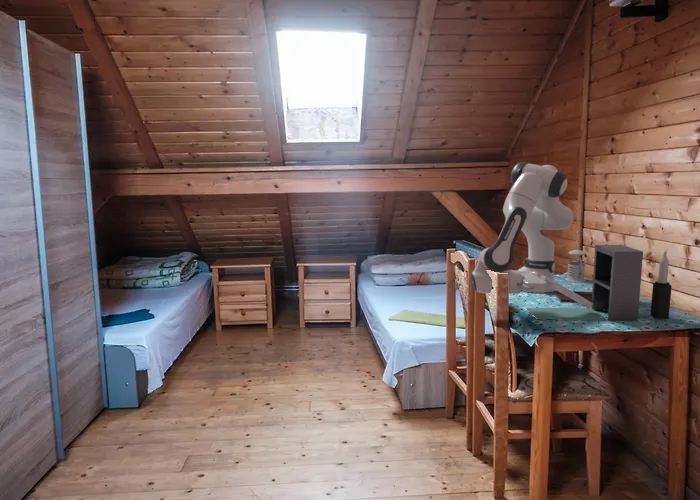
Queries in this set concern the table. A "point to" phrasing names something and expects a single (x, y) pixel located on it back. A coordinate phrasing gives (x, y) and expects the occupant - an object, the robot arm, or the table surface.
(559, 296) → the notebook
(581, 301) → the aluminium strip
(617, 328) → the table surface
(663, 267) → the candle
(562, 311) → the mat
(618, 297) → the rack
